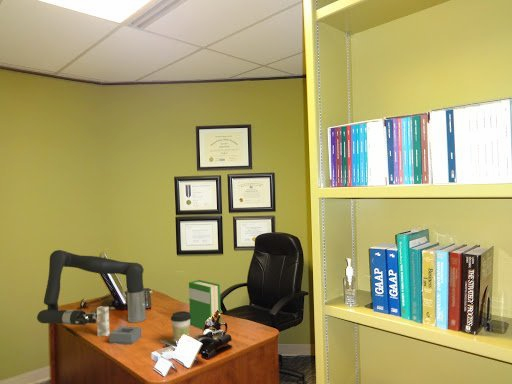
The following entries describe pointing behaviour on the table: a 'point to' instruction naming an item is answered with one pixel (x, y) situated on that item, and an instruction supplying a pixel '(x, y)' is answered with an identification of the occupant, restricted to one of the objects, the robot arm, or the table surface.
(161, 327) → the table surface
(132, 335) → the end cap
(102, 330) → the marbled white block
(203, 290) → the hardback book
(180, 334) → the coffee cup
